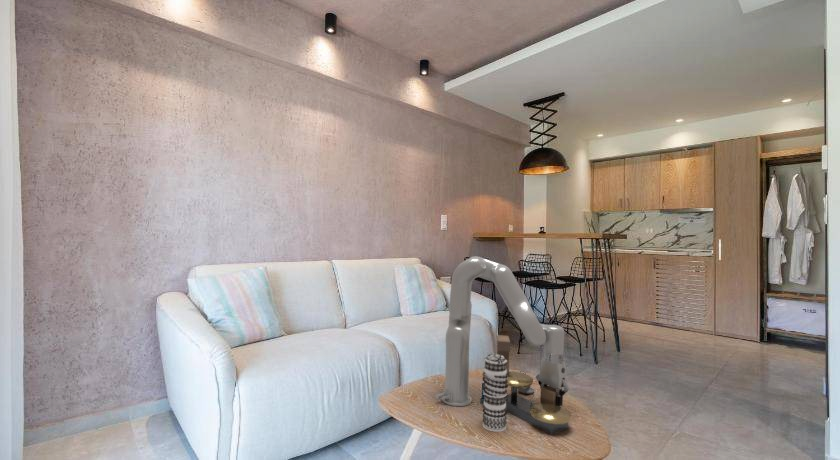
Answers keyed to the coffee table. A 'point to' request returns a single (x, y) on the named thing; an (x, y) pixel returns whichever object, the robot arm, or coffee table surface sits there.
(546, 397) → the walnut block
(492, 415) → the decorative candle
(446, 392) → the robot arm
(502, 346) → the decorative block
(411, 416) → the coffee table surface
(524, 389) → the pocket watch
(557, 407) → the balance
